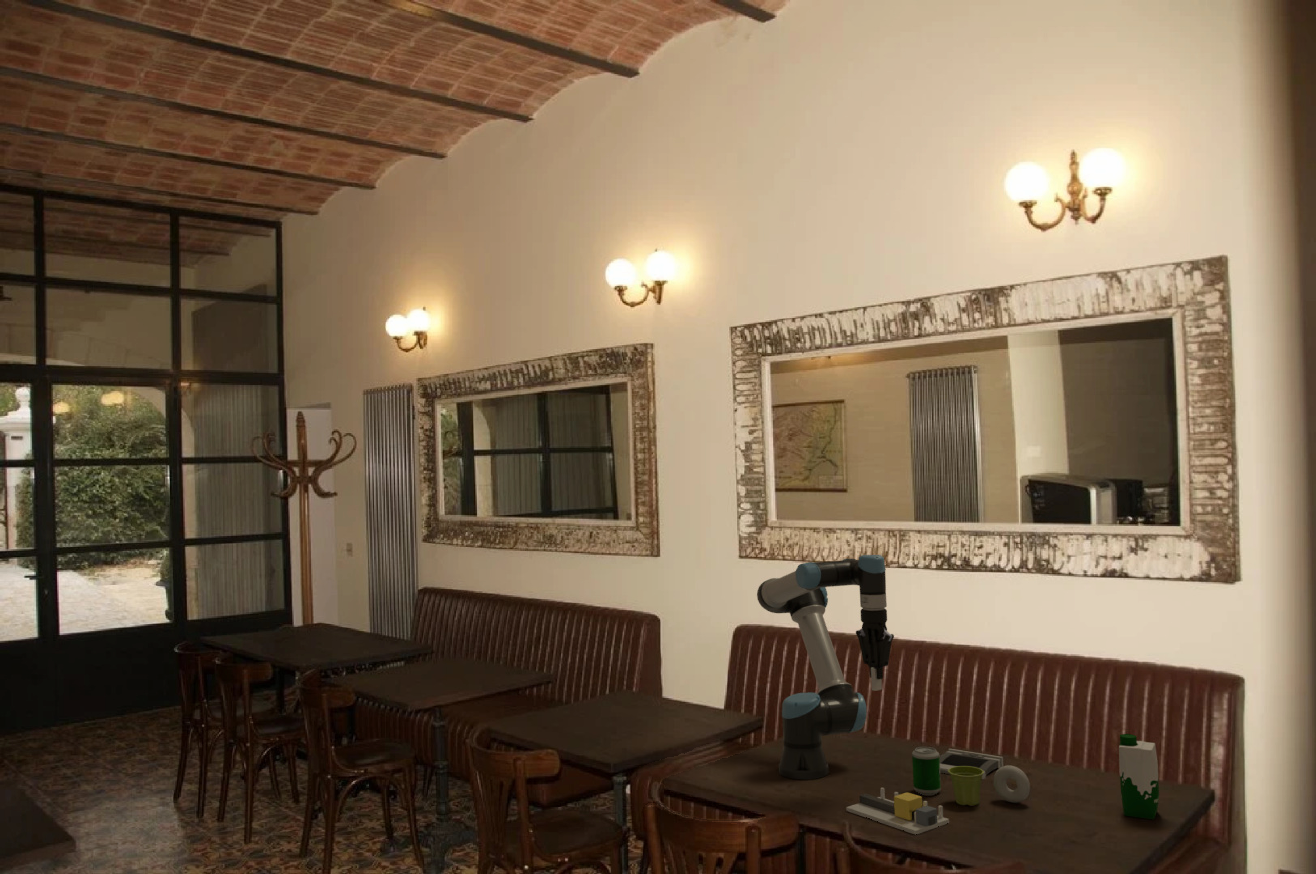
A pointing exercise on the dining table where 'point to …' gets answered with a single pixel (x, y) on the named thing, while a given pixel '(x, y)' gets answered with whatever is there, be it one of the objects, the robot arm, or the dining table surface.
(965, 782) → the plant pot
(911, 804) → the yellow sliding cube
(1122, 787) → the milk carton
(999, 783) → the donut
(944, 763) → the alarm clock
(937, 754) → the soda can
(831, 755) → the dining table surface
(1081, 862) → the dining table surface
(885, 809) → the white pegged slab
